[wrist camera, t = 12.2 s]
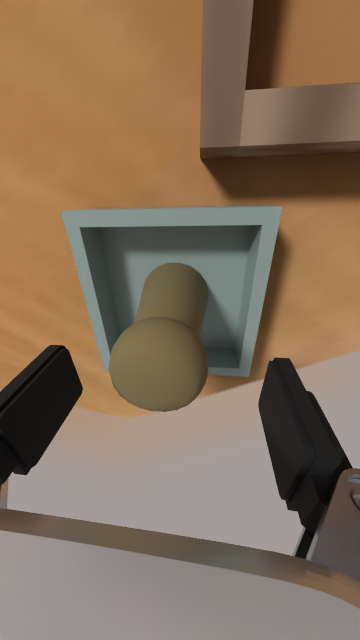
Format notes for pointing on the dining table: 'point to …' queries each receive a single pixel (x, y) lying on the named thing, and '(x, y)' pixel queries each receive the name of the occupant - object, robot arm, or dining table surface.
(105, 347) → the tray
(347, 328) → the dining table surface
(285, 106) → the socket
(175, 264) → the cork
